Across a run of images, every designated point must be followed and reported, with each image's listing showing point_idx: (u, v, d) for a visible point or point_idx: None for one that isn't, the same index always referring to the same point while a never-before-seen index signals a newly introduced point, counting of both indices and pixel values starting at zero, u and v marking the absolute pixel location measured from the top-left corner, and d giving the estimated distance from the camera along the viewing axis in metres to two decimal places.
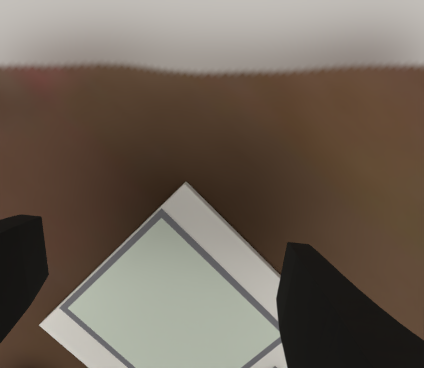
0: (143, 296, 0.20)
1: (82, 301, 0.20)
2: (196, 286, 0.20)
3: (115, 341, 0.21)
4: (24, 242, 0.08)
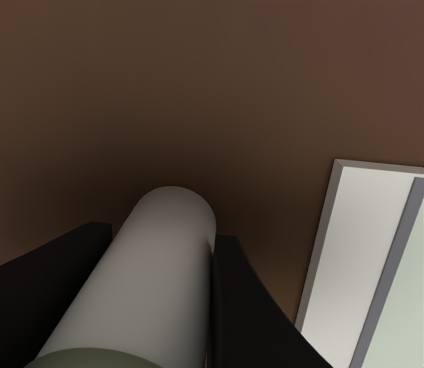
0: None
1: None
2: None
3: (402, 297, 0.11)
4: (100, 250, 0.08)
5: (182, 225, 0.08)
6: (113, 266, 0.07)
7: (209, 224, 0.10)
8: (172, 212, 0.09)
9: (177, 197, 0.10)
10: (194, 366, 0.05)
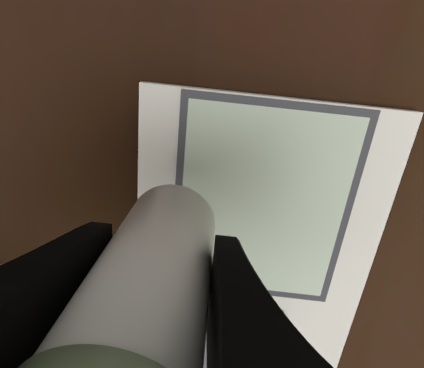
0: (266, 162, 0.16)
1: (210, 108, 0.16)
2: (315, 201, 0.17)
3: (192, 172, 0.17)
4: (100, 250, 0.08)
5: (181, 222, 0.08)
6: (112, 263, 0.07)
7: (208, 222, 0.10)
8: (171, 209, 0.09)
9: (176, 195, 0.10)
10: (192, 363, 0.05)
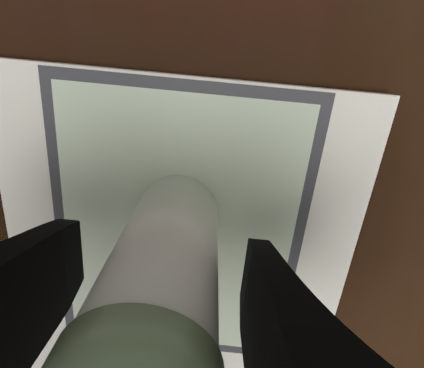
0: (176, 172, 0.11)
1: (84, 93, 0.11)
2: (250, 225, 0.12)
3: (73, 186, 0.12)
4: (65, 246, 0.08)
5: (190, 208, 0.09)
6: (134, 242, 0.07)
7: (212, 209, 0.11)
8: (180, 197, 0.10)
9: (182, 185, 0.11)
10: (212, 321, 0.06)
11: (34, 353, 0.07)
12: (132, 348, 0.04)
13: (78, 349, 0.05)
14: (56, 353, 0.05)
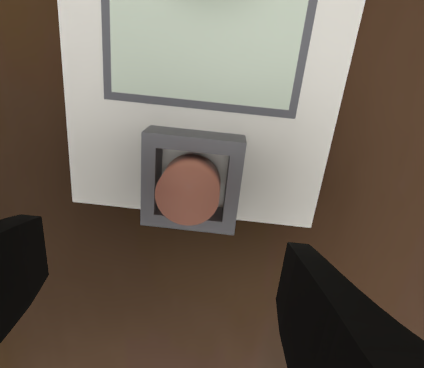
0: None
1: None
2: None
3: None
4: (24, 242, 0.08)
5: None
6: None
7: None
8: None
9: None
10: None
11: None
12: None
13: None
14: None
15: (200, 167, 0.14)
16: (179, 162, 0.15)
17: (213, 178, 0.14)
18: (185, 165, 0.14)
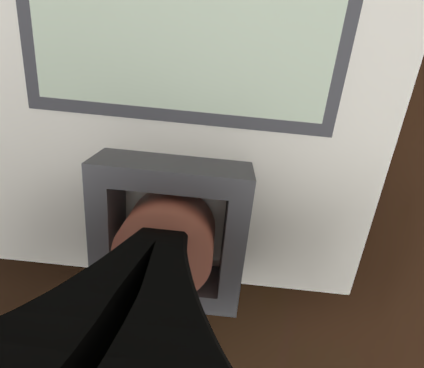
0: None
1: None
2: None
3: None
4: None
5: None
6: None
7: None
8: None
9: None
10: None
11: None
12: None
13: None
14: None
15: (181, 214, 0.09)
16: (149, 204, 0.09)
17: (202, 231, 0.09)
18: (157, 212, 0.09)
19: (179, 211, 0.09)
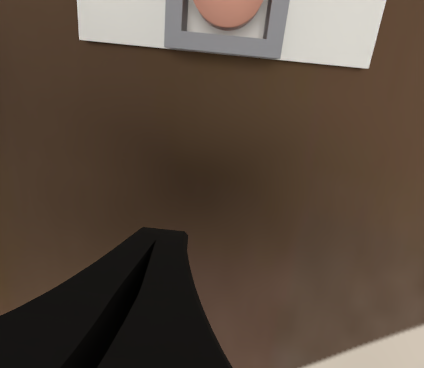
0: None
1: None
2: None
3: None
4: None
5: None
6: None
7: None
8: None
9: None
10: None
11: None
12: None
13: None
14: None
15: None
16: None
17: None
18: None
19: None
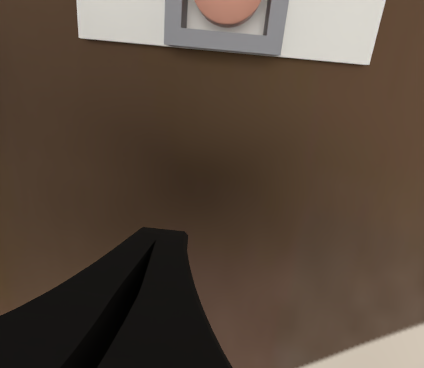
0: None
1: None
2: None
3: None
4: None
5: None
6: None
7: None
8: None
9: None
10: None
11: None
12: None
13: None
14: None
15: None
16: None
17: None
18: None
19: None
